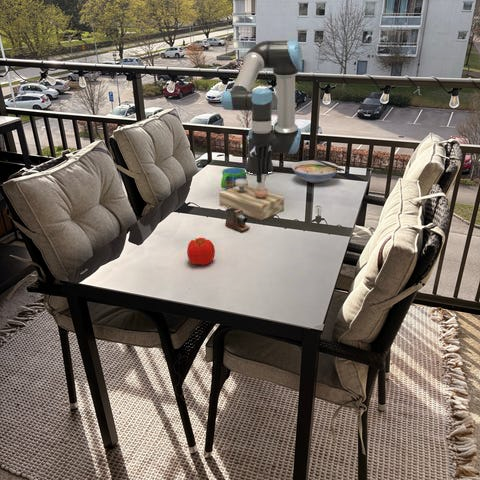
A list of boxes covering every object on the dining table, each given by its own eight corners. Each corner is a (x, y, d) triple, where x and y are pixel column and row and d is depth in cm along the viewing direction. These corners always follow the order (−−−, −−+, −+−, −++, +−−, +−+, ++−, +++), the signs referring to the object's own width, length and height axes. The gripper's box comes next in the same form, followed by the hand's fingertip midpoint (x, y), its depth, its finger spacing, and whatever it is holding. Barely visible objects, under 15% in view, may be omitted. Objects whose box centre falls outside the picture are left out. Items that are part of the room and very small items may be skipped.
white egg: (241, 192, 200) (241, 177, 198) (250, 194, 197) (250, 180, 194) (233, 195, 197) (232, 180, 194) (241, 197, 194) (241, 183, 191)
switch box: (242, 197, 208) (242, 184, 205) (283, 210, 192) (284, 197, 190) (219, 205, 199) (219, 192, 196) (261, 220, 183) (261, 206, 181)
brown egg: (260, 201, 194) (260, 187, 191) (269, 204, 191) (270, 189, 188) (252, 205, 191) (252, 190, 188) (261, 208, 187) (261, 193, 185)
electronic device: (242, 233, 172) (241, 214, 169) (224, 226, 178) (224, 208, 175) (250, 230, 175) (250, 211, 172) (233, 223, 181) (232, 205, 178)
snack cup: (238, 185, 223) (238, 164, 219) (254, 190, 216) (254, 169, 212) (214, 193, 213) (213, 171, 209) (229, 198, 206) (229, 176, 202)
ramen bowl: (281, 177, 234) (282, 161, 230) (319, 171, 242) (320, 156, 239) (308, 192, 213) (309, 175, 210) (348, 185, 222) (350, 168, 218)
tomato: (200, 253, 158) (199, 233, 154) (220, 260, 153) (219, 240, 149) (181, 263, 151) (179, 242, 148) (200, 271, 146) (199, 250, 143)
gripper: (265, 127, 185) (264, 183, 194) (242, 132, 176) (243, 191, 186) (279, 130, 180) (278, 187, 190) (257, 135, 171) (257, 195, 181)
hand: (260, 189), depth 188 cm, fingers closed
